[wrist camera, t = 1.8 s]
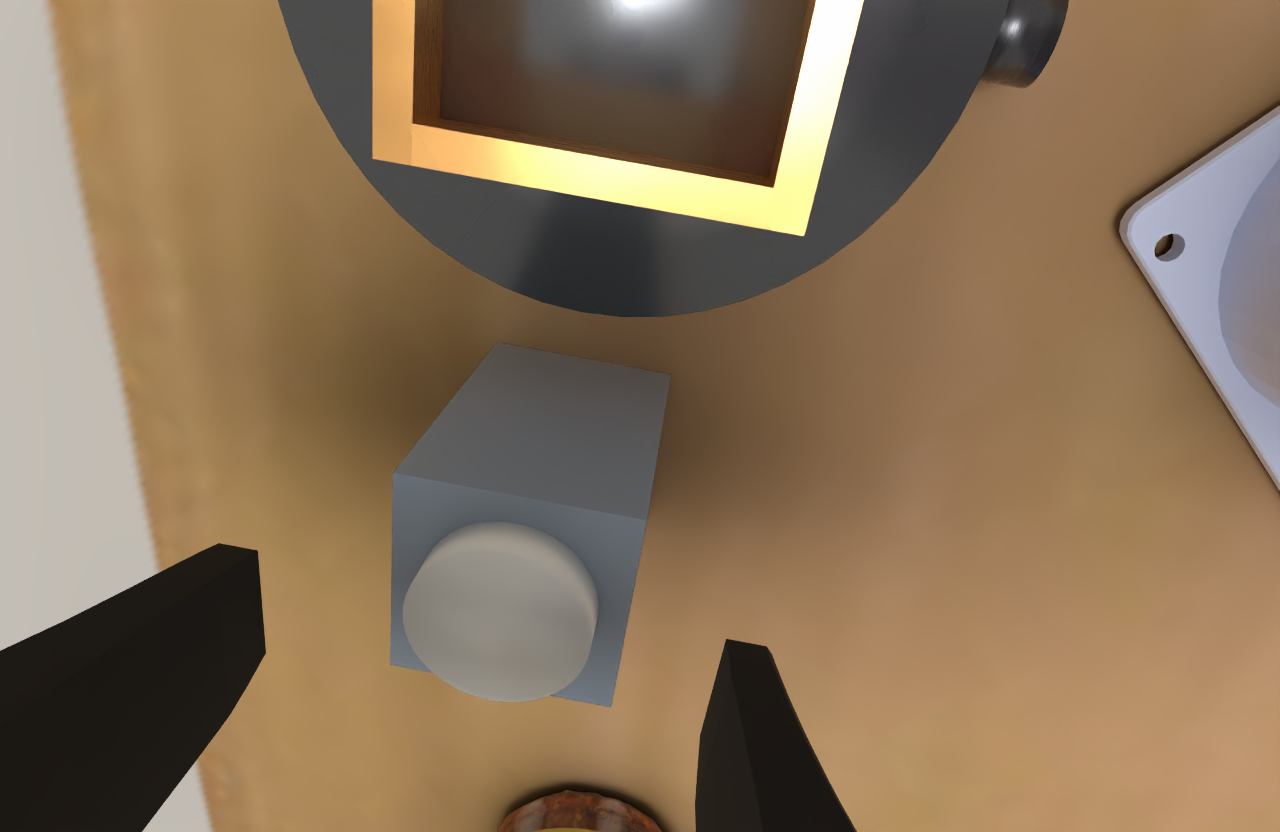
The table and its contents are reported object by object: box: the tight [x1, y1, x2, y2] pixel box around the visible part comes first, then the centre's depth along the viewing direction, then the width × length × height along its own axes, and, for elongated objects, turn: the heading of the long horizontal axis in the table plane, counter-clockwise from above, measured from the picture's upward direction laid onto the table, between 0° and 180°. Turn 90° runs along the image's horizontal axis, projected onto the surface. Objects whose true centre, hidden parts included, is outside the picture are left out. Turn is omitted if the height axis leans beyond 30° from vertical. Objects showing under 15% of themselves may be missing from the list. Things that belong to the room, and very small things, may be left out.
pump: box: [390, 342, 671, 707], centre depth 15 cm, size 4×5×7 cm
